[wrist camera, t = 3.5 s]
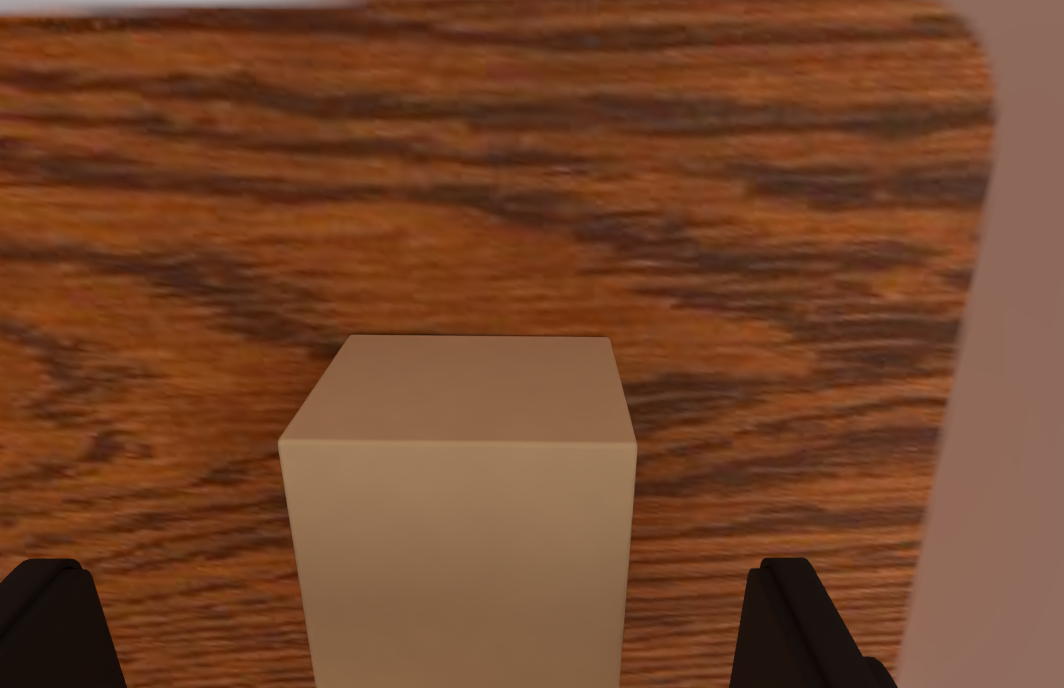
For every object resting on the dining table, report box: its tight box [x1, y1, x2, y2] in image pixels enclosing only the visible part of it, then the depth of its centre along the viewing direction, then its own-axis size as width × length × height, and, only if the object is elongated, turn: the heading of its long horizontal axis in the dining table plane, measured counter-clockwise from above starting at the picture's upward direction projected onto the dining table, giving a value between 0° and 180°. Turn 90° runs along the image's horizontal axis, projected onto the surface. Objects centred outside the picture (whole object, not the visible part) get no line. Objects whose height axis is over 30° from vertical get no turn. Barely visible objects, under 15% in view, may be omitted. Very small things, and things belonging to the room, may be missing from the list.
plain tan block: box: [278, 335, 638, 688], centre depth 12 cm, size 5×6×4 cm
